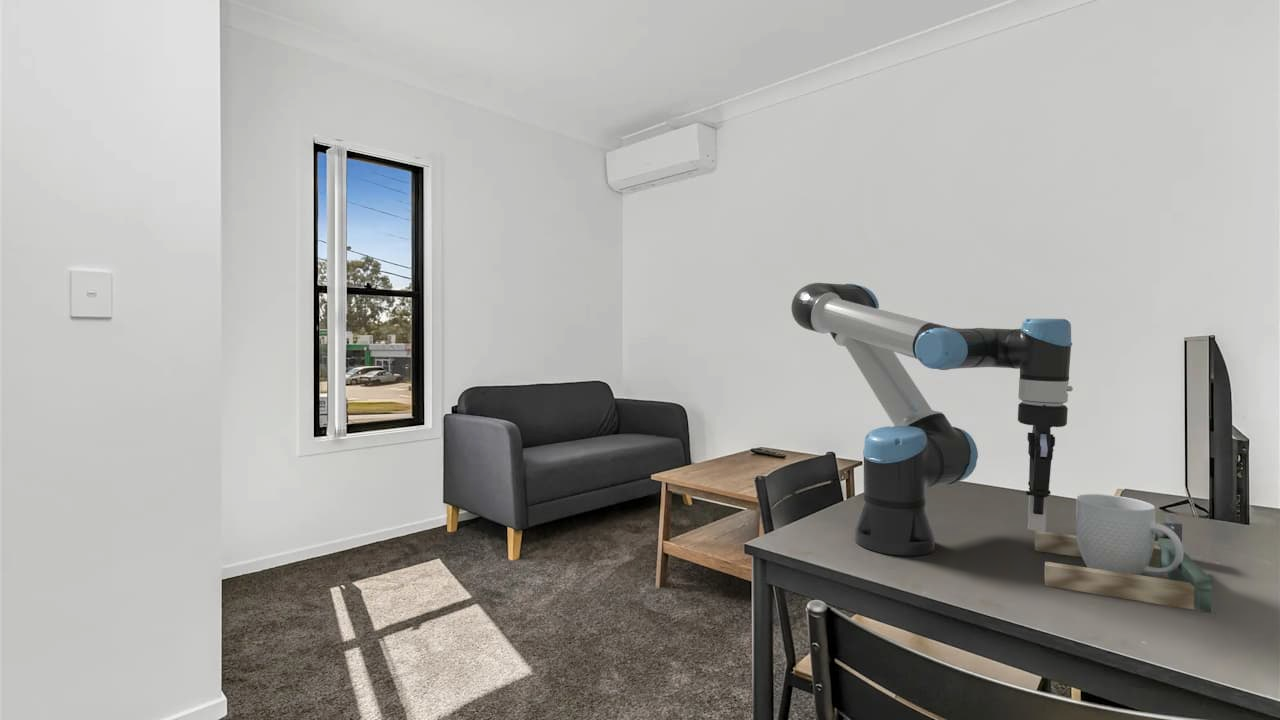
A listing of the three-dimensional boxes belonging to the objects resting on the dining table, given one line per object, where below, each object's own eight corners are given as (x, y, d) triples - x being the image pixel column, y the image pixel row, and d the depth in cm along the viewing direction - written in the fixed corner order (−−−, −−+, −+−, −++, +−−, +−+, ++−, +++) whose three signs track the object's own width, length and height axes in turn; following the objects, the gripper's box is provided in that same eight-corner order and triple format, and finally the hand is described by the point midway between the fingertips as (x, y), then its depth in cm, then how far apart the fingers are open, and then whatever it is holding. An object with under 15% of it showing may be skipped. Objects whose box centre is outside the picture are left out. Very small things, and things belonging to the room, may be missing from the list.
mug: (1192, 585, 102) (1194, 508, 102) (1170, 601, 96) (1173, 520, 96) (1089, 558, 115) (1090, 490, 114) (1063, 571, 108) (1065, 499, 108)
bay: (1045, 585, 102) (1046, 556, 102) (1034, 547, 121) (1035, 522, 120) (1210, 612, 92) (1211, 580, 92) (1171, 566, 111) (1172, 539, 110)
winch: (1128, 558, 115) (1129, 519, 114) (1121, 548, 120) (1122, 510, 120) (1183, 565, 111) (1184, 525, 111) (1174, 555, 116) (1175, 516, 116)
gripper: (1072, 408, 103) (1065, 544, 104) (1063, 400, 114) (1056, 522, 116) (1020, 405, 107) (1014, 536, 108) (1016, 397, 118) (1010, 516, 119)
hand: (1036, 529), depth 112 cm, fingers closed
